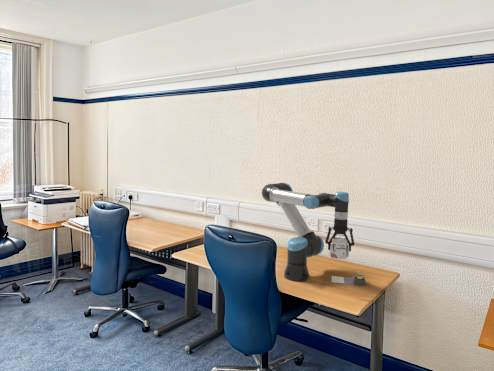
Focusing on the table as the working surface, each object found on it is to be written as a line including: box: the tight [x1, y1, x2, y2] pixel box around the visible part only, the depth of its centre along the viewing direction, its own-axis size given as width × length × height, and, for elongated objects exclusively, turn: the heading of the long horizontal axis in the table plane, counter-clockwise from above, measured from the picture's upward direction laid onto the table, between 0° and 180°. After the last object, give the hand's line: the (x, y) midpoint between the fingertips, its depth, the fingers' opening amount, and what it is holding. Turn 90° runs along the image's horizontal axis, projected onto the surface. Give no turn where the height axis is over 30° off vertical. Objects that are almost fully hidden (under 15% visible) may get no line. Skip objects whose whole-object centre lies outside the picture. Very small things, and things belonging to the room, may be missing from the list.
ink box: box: [330, 236, 349, 260], centre depth 222 cm, size 9×5×12 cm, turn 63°
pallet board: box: [330, 275, 366, 286], centre depth 223 cm, size 19×11×1 cm, turn 79°
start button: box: [355, 271, 365, 280], centre depth 219 cm, size 4×4×6 cm
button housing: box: [353, 275, 366, 286], centre depth 219 cm, size 6×6×3 cm
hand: (339, 255), depth 223 cm, fingers closed on ink box, 9 cm apart
